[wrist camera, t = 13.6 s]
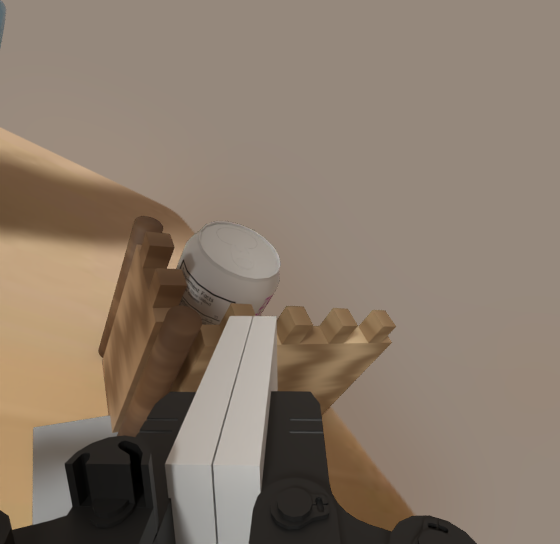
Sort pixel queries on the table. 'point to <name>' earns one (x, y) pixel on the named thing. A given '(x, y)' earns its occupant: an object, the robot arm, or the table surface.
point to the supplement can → (228, 270)
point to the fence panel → (302, 351)
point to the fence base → (123, 362)
